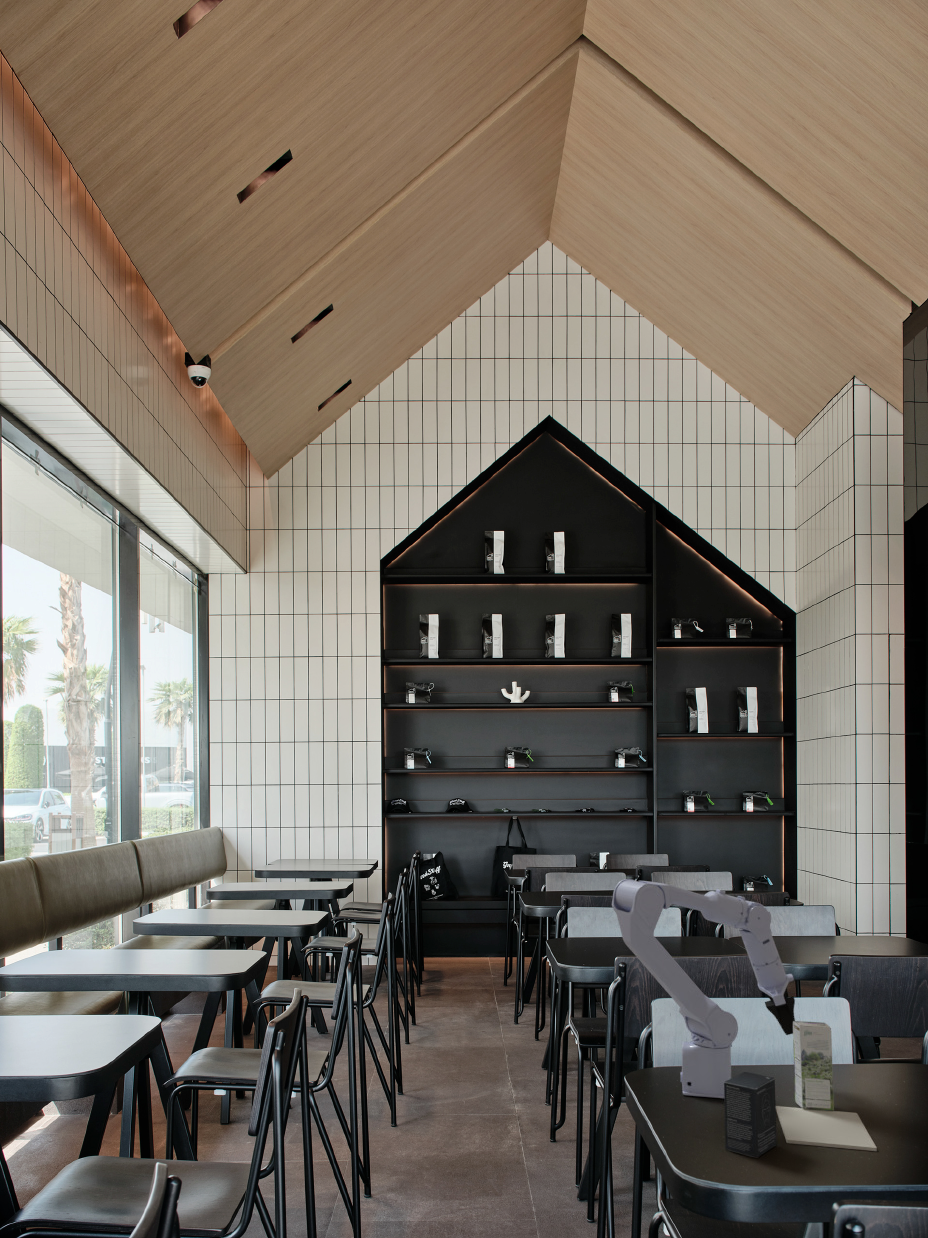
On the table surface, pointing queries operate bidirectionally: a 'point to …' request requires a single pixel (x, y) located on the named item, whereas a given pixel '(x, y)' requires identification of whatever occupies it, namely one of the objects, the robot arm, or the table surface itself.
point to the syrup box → (813, 1065)
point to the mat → (824, 1128)
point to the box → (750, 1114)
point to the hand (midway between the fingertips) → (788, 1025)
